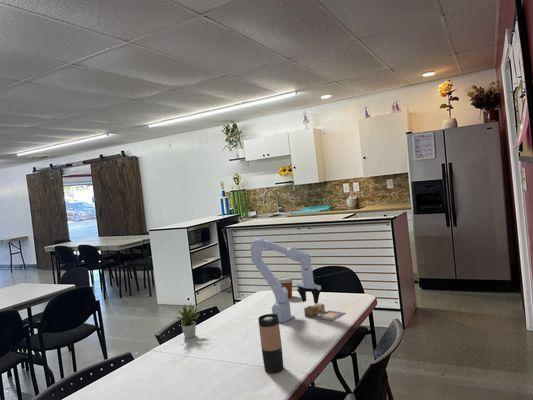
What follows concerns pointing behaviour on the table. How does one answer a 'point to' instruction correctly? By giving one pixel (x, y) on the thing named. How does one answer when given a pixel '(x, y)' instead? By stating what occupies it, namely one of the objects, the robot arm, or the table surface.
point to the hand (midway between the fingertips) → (310, 302)
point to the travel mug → (271, 343)
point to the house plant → (188, 321)
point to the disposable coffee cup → (286, 284)
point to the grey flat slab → (330, 315)
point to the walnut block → (311, 311)
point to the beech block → (320, 307)
